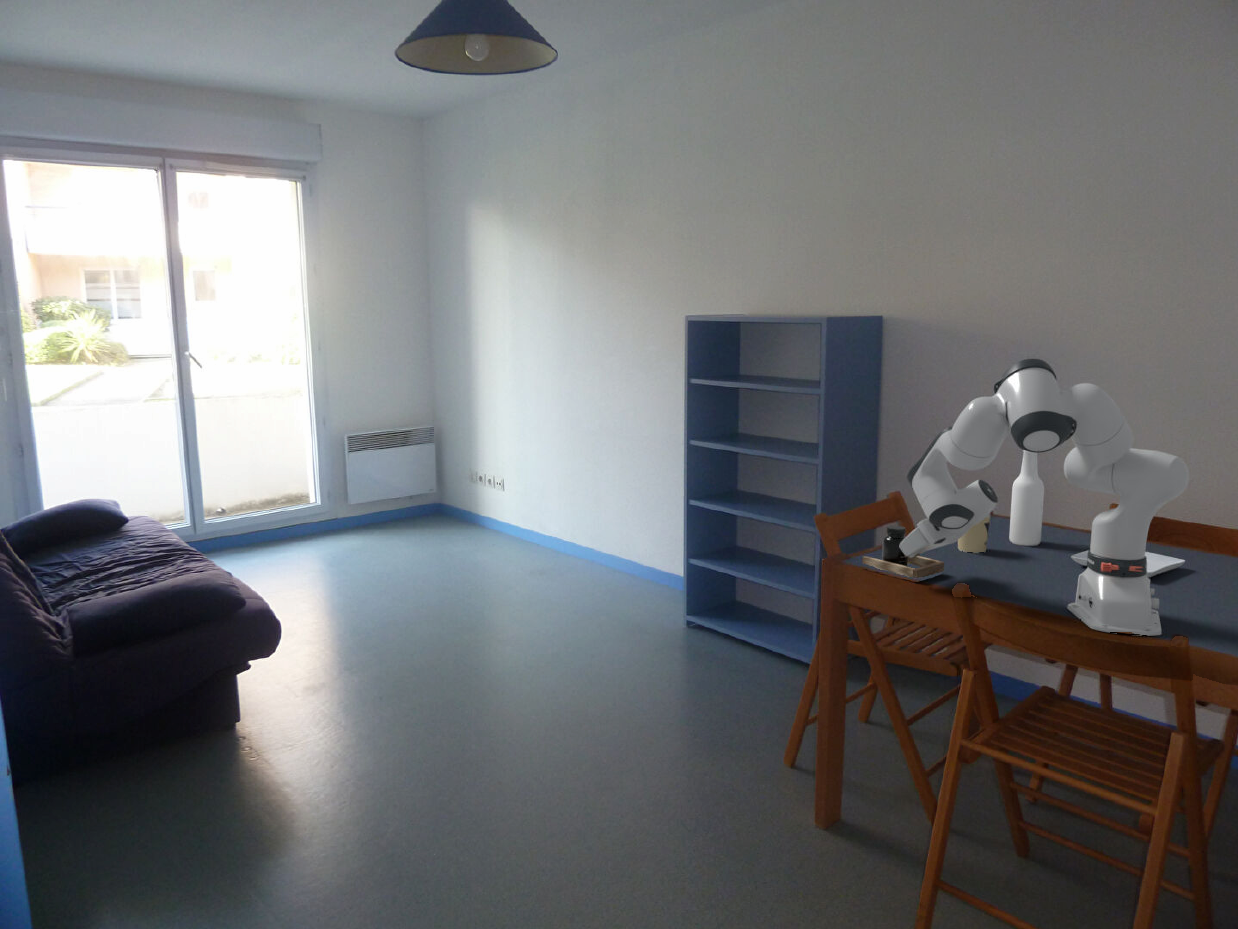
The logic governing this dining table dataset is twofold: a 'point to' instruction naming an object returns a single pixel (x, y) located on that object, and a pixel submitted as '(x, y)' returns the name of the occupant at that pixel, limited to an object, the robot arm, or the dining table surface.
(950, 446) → the robot arm
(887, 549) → the supplement bottle
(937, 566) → the wooden tray
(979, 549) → the coffee cup
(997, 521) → the dining table surface
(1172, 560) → the salad plate
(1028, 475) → the alcohol
